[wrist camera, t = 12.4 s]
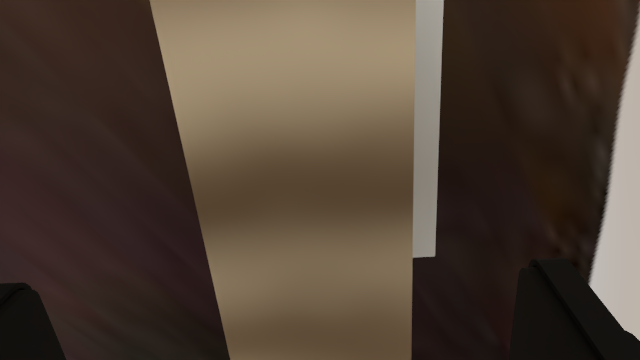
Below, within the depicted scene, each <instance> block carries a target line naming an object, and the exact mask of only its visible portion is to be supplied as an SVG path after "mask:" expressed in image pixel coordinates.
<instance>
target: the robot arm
mask: <svg viewBox="0 0 640 360" xmlns="http://www.w3.org/2000/svg"><path fill="white" fill-rule="evenodd" d="M0 360H66V358H65V356H64V353H63V351H62V348H61V346H60V344H59V341H58V339H57V336H56V334H55V332H54V329H53V327H52V324H51V322H50V320H49V317H48V315H47V312H46V310H45V308H44V305H43V303H42V300H41V298H40V296H39V294H38V292H36V291H35V290H32V288H31V287H30V286H29V285H28V284H26V283H4V284H0ZM509 360H640V341H639V340H638V339H637V338H636V337H635V336H634V335H633V334H631V333H629V332H627V331H625V330H624V329H623V328H622V327H621V326H620V324H619V323H618V322H617V320H616V319H615V318H614V317H613V316H612V314H611V313H610V312H609V311H608V309H607V308H606V306H605V305H604V304H603V303H602V301H601V300H600V299H599V298H598V296H597V295H596V294H595V293H594V291H593V290H592V289H591V288H590V286H589V285H588V284H587V283H586V281H585V280H584V279H583V277H582V276H581V275H580V274H579V272H578V271H577V270H576V269H575V267H574V266H573V265H572V264H571V262H570V261H569V260H568V259H565V258H552V259H533V260H531V262H530V264H529V267H528V268H522V269H521V270H520V272H519V279H518V287H517V295H516V304H515V312H514V320H513V329H512V337H511V345H510V353H509Z"/></svg>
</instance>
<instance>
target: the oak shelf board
mask: <svg viewBox="0 0 640 360" xmlns="http://www.w3.org/2000/svg"><path fill="white" fill-rule="evenodd" d="M150 4H151V8H152V13H153V17H154V22H155V26H156V30H157V35H158V39H159V44H160V48H161V53H162V57H163V62H164V66H165V71H166V75H167V79H168V84H169V88H170V93H171V97H172V102H173V106H174V111H175V115H176V120H177V124H178V128H179V133H180V137H181V142H182V146H183V151H184V155H185V160H186V164H187V169H188V173H189V177H190V182H191V186H192V191H193V195H194V200H195V204H196V209H197V213H198V218H199V222H200V226H201V231H202V235H203V240H204V244H205V249H206V253H207V258H208V262H209V267H210V271H211V275H212V280H213V284H214V289H215V293H216V298H217V302H218V307H219V311H220V316H221V320H222V324H223V329H224V333H225V338H226V342H227V347H228V351H229V356H230V360H411V340H412V260H413V180H414V101H415V21H416V0H150Z"/></svg>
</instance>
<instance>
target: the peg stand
mask: <svg viewBox="0 0 640 360" xmlns="http://www.w3.org/2000/svg"><path fill="white" fill-rule="evenodd" d="M442 31H443V0H416V21H415V101H414V180H413V257H434V256H435V242H436V212H437V181H438V151H439V121H440V91H441V61H442Z"/></svg>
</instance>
